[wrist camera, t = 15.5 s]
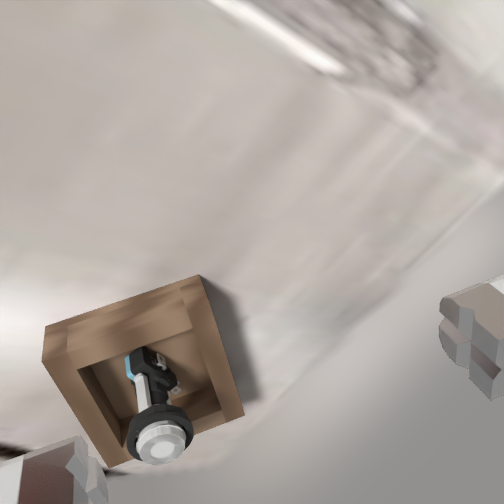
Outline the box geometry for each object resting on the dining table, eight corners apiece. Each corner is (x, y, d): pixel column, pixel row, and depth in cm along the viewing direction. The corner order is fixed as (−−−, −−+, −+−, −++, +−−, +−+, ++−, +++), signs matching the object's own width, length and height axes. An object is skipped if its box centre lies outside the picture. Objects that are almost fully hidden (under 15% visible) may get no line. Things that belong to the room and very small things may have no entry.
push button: (195, 365, 47) (219, 448, 39) (155, 397, 48) (170, 486, 39) (150, 331, 43) (165, 415, 35) (107, 366, 44) (112, 457, 36)
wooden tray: (198, 274, 43) (209, 302, 39) (233, 383, 51) (245, 415, 48) (45, 326, 41) (41, 361, 37) (107, 431, 49) (108, 468, 46)
